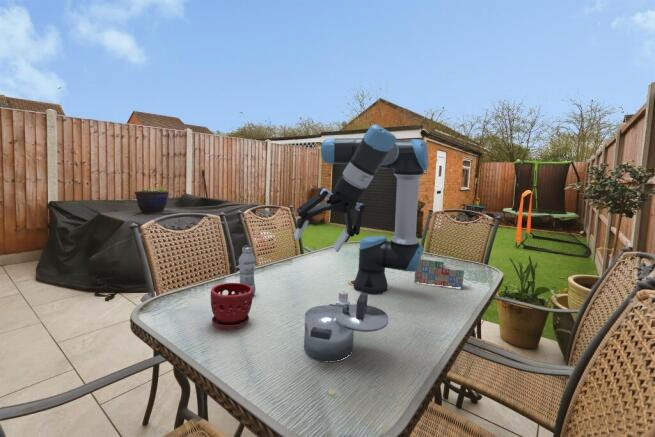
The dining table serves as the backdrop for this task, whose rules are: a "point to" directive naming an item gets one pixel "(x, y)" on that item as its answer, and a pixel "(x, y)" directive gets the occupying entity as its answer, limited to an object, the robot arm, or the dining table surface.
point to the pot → (326, 335)
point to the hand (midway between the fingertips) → (316, 243)
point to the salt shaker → (343, 298)
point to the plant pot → (231, 305)
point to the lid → (361, 316)
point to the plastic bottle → (247, 267)
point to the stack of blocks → (438, 273)
